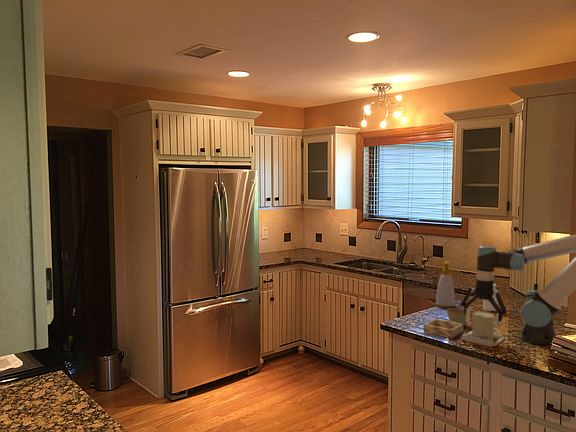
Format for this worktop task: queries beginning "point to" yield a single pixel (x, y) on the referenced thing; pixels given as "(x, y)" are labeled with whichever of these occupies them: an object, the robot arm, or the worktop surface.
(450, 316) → the flower pot
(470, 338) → the white square frame
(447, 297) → the soap bottle
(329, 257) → the worktop surface
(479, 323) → the can
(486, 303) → the pill bottle
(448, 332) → the open box
